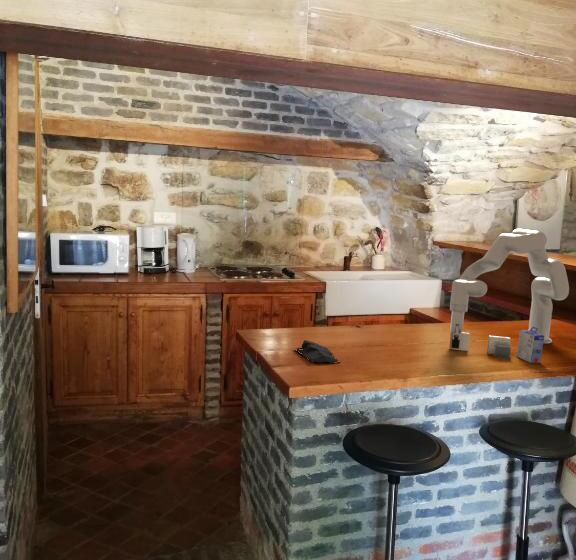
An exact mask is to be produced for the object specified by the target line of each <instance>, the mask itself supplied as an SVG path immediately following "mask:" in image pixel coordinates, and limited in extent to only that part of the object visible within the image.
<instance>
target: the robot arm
mask: <svg viewBox="0 0 576 560" xmlns="http://www.w3.org/2000/svg"><path fill="white" fill-rule="evenodd" d="M547 240H548V238H547V236H546V234H545V233H544V232H542V231H539V230H531V229H524V228H516V229H514V230H512V231H511V232H510V233H506V232H505V233H504V232H503V233H501V234H499V235H498V236H497V238H496V239H495V240H494V241H493V243H492V244H491V246H490V248H488V250H487V252H485V254H484V256H483V257H482V258H480V259H477V260H476V261H475V262H474V263H471V264H470V265H469V266H467V268H465V269H464V271H463V272H462V273H461V275H460V277H459V278H458V279H454V280H453V281H452V283H451V293H450V294H451V295H450V302H449V303H450V304H449V305H450V306H449V311H451V316H450V327H449V332H450V334H451V333H452V332H453V339H452V348H457V349H459V342H460V340H459V337H460V334H461V333H462V332H463V327H464V325H463V324H464V317H465V313H468V307H469V306H468V305H469V299H470V298H469V297H475V298H480V297H483V296H485V295H486V293H487V291H488V285H487V283H485V281H482V280H480V279H476V278H478V277H479V276H480V275H482V274H485V273H488V272H493V271H496V270H498V269H500V268H501V266H502V265H503V263H504V262H506V259H507V258H508V256H509V255H510V254H511V253H512V254H516V255H522V254H526V257H527V260H528V265H529V269H530V272H531V274H532V275H533V276H534V277H535V278H534V279H533V280H532V281H531V287H530V288H531V291H530V292H531V307H530V312H529V321H528V322H529V323H528V329H527V330H530V329H531V328H532V327H536V328H538V330H537V332H536V333H539V334H541V335H544V341H543V345H544V344H545V345H547V344H548V345H549V344H551V343H552V342H553V340H552V338H550V332H551V331H550V330H551V322H552V313H553V306H554V305H553V301H552V300H554V301H563V300H565V299H566V298H568V296H569V292H570V286H569V285H570V284H569V280H568V274H567V271H566V266H565V264H564V263H563V261H561V260H560V259H559V260H558V259H554V258H550V257H549V256H548V253H547V250H546V249H547V248H546V244H547ZM532 330H534V331H536V329H532ZM454 331H456V333H454ZM458 332H459V333H458Z"/></svg>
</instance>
